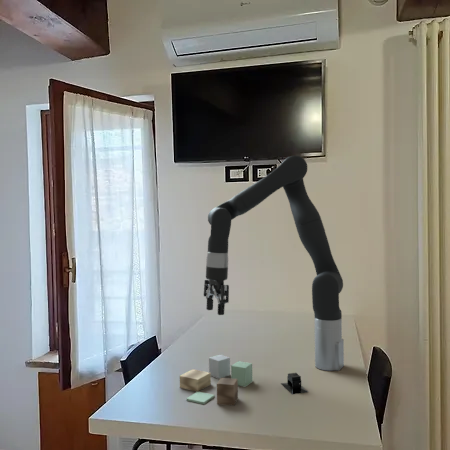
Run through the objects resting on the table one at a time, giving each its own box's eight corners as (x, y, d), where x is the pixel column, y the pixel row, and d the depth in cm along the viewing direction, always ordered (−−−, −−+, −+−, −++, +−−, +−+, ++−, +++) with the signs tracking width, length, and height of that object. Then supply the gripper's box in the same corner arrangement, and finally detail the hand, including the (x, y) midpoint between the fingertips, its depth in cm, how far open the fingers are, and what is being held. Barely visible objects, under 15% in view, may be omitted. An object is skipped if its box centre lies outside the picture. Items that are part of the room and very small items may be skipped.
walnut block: (237, 398, 145) (237, 378, 145) (234, 405, 140) (233, 384, 140) (221, 397, 146) (221, 377, 146) (217, 404, 141) (216, 383, 141)
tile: (214, 396, 146) (214, 394, 146) (204, 404, 141) (203, 402, 141) (197, 393, 149) (197, 391, 149) (186, 400, 144) (186, 398, 144)
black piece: (313, 395, 148) (313, 380, 147) (290, 398, 146) (290, 383, 145) (297, 381, 160) (296, 367, 159) (275, 383, 158) (275, 369, 158)
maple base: (210, 385, 157) (210, 372, 157) (197, 392, 151) (197, 379, 151) (193, 381, 161) (192, 369, 160) (179, 388, 155) (179, 375, 155)
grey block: (230, 375, 165) (229, 357, 165) (218, 379, 162) (218, 361, 161) (220, 371, 169) (220, 354, 168) (209, 375, 165) (208, 357, 165)
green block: (252, 381, 159) (252, 363, 158) (245, 386, 154) (245, 368, 154) (238, 379, 161) (238, 361, 161) (231, 384, 157) (231, 365, 156)
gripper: (236, 267, 165) (234, 315, 165) (217, 263, 177) (215, 307, 178) (216, 268, 161) (214, 317, 162) (198, 263, 174) (196, 308, 174)
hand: (215, 312), depth 170 cm, fingers open, 8 cm apart
